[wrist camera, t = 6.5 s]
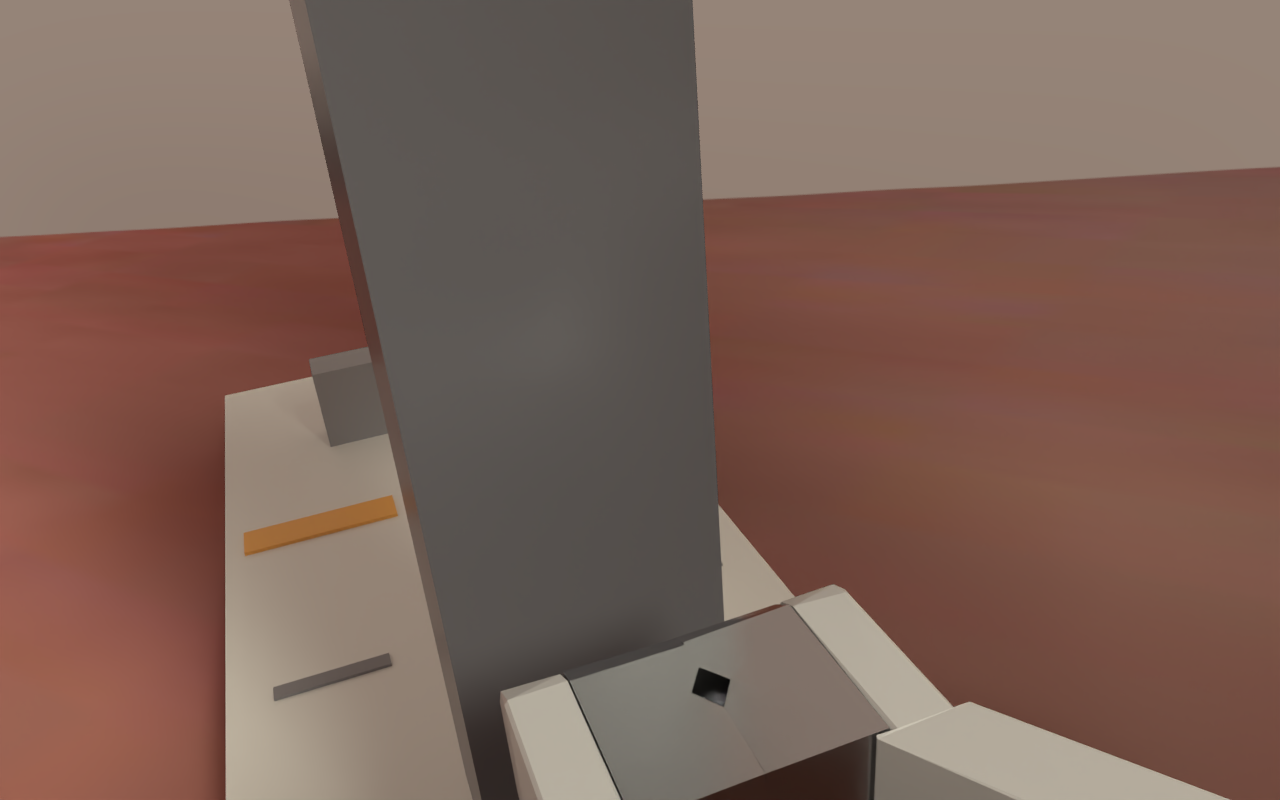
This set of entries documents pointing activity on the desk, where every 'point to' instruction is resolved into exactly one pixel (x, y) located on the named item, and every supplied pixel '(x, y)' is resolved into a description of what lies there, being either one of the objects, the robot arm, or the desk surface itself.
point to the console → (347, 601)
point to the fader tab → (531, 323)
